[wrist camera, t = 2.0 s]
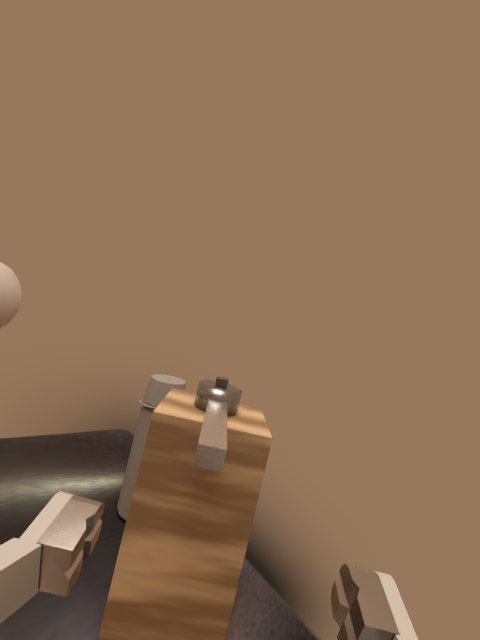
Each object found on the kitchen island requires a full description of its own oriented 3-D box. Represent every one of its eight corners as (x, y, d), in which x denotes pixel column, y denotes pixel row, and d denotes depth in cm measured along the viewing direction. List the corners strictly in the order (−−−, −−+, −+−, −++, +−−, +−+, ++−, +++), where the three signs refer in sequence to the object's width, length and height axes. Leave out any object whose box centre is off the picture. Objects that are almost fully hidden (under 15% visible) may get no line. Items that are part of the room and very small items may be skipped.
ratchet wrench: (243, 476, 23) (255, 425, 24) (170, 460, 23) (182, 409, 23) (236, 406, 43) (242, 379, 43) (196, 397, 43) (203, 369, 43)
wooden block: (219, 662, 33) (272, 438, 34) (97, 639, 33) (153, 411, 33) (221, 572, 45) (260, 407, 46) (132, 553, 44) (172, 387, 45)
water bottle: (165, 517, 54) (197, 385, 54) (124, 532, 48) (160, 385, 49) (141, 489, 60) (170, 371, 61) (103, 500, 54) (135, 370, 55)
